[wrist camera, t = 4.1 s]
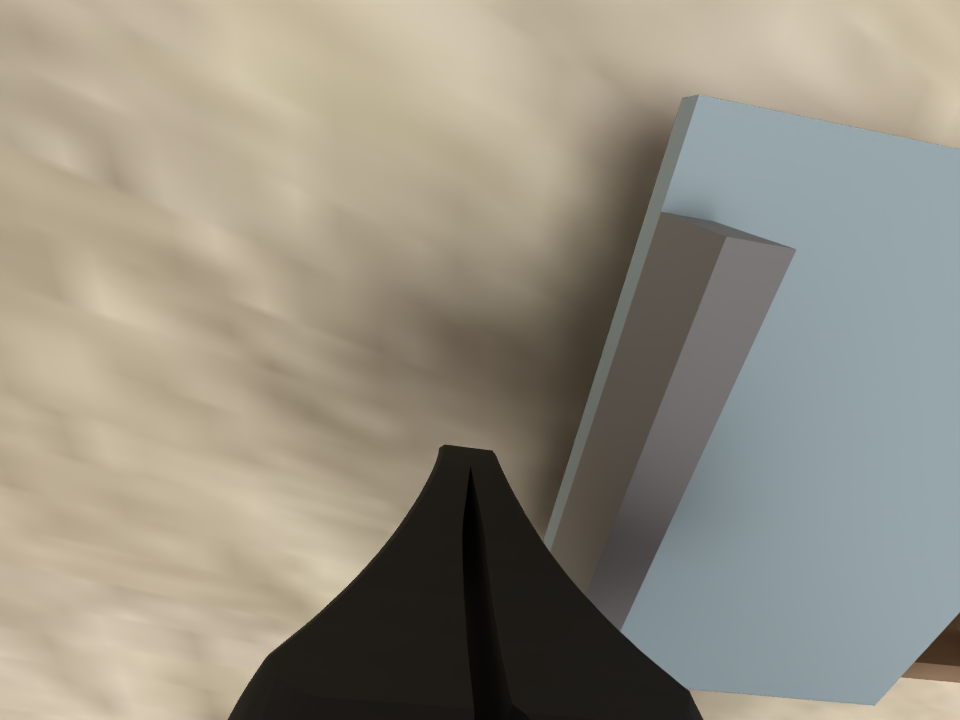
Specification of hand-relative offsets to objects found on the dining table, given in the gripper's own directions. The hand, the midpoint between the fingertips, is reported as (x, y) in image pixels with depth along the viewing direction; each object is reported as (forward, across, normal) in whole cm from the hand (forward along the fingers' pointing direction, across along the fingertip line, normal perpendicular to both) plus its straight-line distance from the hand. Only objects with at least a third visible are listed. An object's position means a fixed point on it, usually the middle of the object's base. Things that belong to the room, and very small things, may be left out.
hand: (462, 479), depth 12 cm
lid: (+2, -10, 0) cm, 11 cm away
